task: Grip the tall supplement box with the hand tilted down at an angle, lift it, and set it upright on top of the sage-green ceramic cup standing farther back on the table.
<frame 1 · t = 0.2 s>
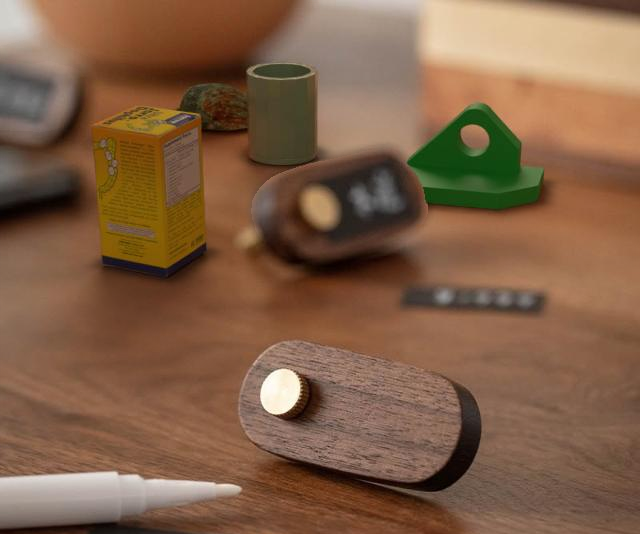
cup: (282, 154, 123), on the table
bracket: (468, 193, 113), on the table
supplement box: (154, 261, 99), on the table
seashell: (217, 121, 133), on the table
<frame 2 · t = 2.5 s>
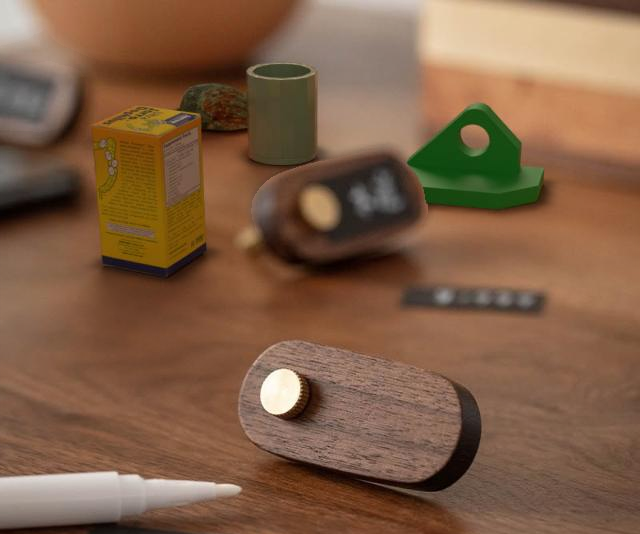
nothing on the table moved.
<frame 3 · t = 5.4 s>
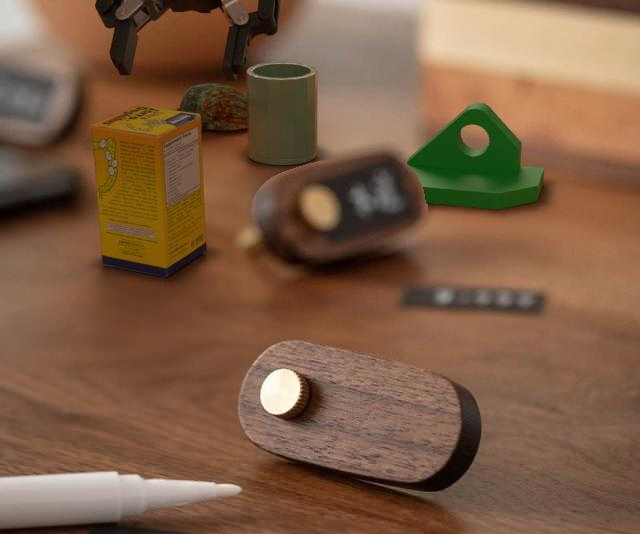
hand: (175, 73, 101), 12 cm above the table, tool tilted 45°, fingers open, 8 cm apart
nothing on the table moved.
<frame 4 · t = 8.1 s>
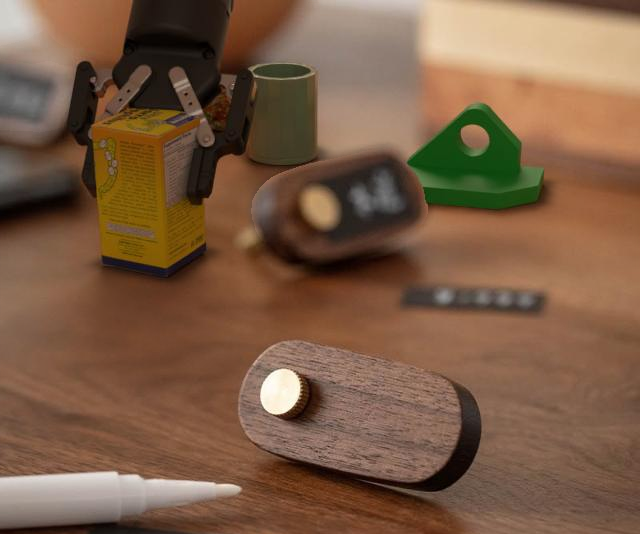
hand: (144, 196, 95), 5 cm above the table, tool tilted 45°, fingers closed on supplement box, 7 cm apart
supplement box: (154, 261, 99), on the table, touching gripper
everything else where it was.
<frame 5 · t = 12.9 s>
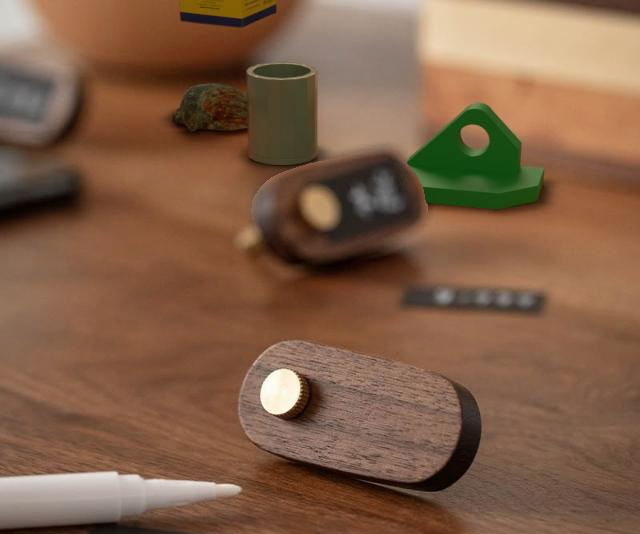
supplement box: (228, 20, 106), point 15 cm above the table, touching gripper
everything else where it was.
when the fingers open (13 cm above the table, at t = 17.5 s): supplement box stays where it is, resting on cup.
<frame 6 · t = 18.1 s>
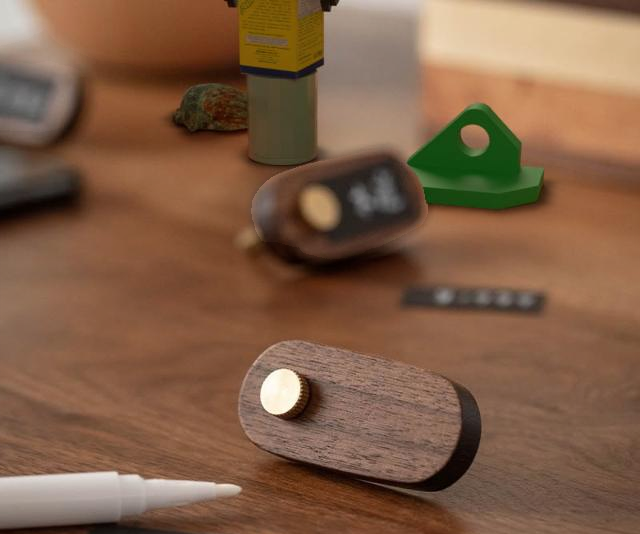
hand: (277, 4, 115), 14 cm above the table, tool tilted 45°, fingers open, 8 cm apart
supplement box: (282, 72, 119), point 8 cm above the table, touching cup
everything else where it was.
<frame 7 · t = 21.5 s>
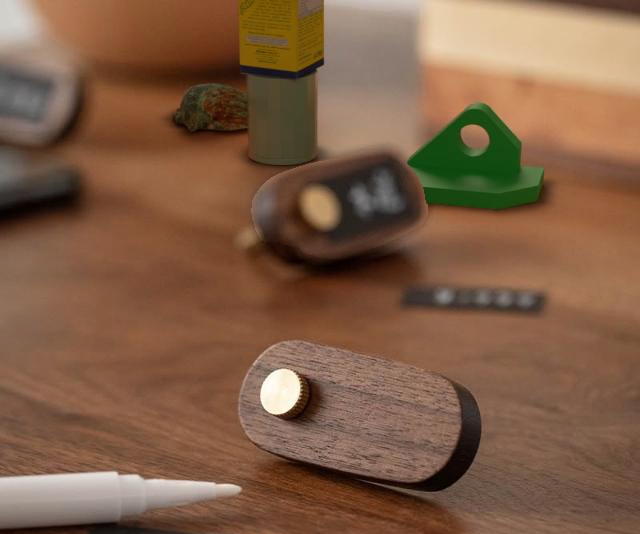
nothing on the table moved.
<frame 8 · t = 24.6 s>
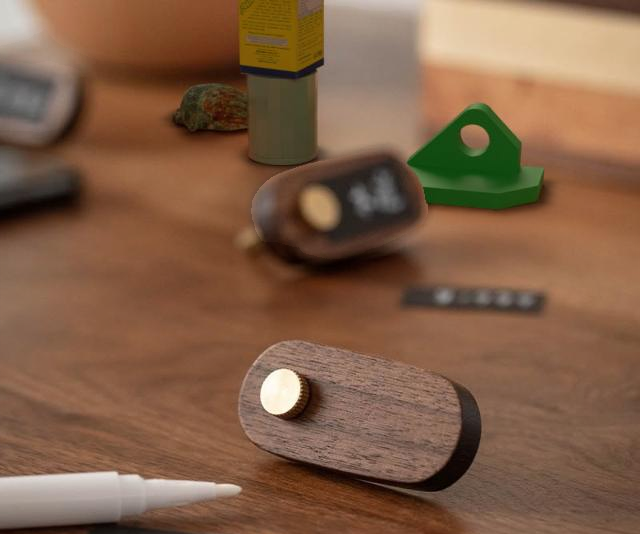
nothing on the table moved.
at the end: supplement box 0.1 cm off-centre on the cup, point 7.8 cm above the cup's base; supplement box tilted 0°; the gripper is holding nothing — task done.
